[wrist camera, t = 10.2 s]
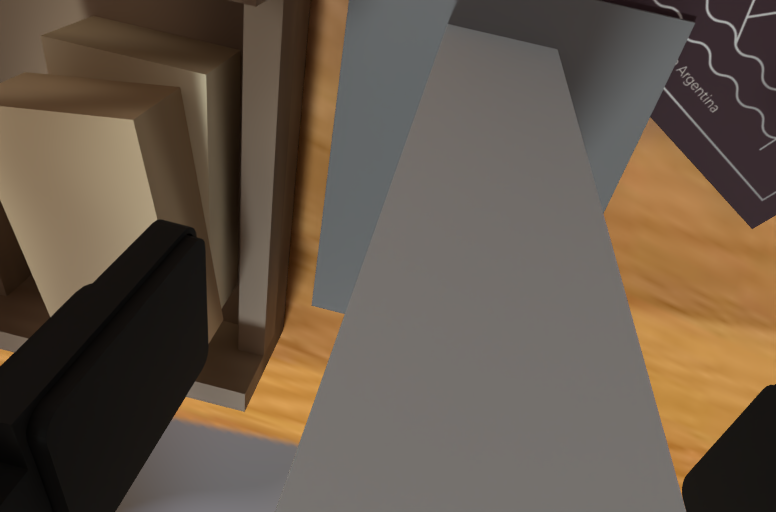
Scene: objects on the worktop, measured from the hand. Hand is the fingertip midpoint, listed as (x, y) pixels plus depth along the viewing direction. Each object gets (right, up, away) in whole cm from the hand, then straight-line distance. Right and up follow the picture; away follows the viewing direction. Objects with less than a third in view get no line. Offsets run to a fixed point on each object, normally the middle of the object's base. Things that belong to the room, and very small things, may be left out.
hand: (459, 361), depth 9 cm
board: (0, +3, +5) cm, 6 cm away
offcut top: (-7, +3, +4) cm, 9 cm away
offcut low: (-7, +4, +5) cm, 10 cm away
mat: (+1, +4, +5) cm, 6 cm away
